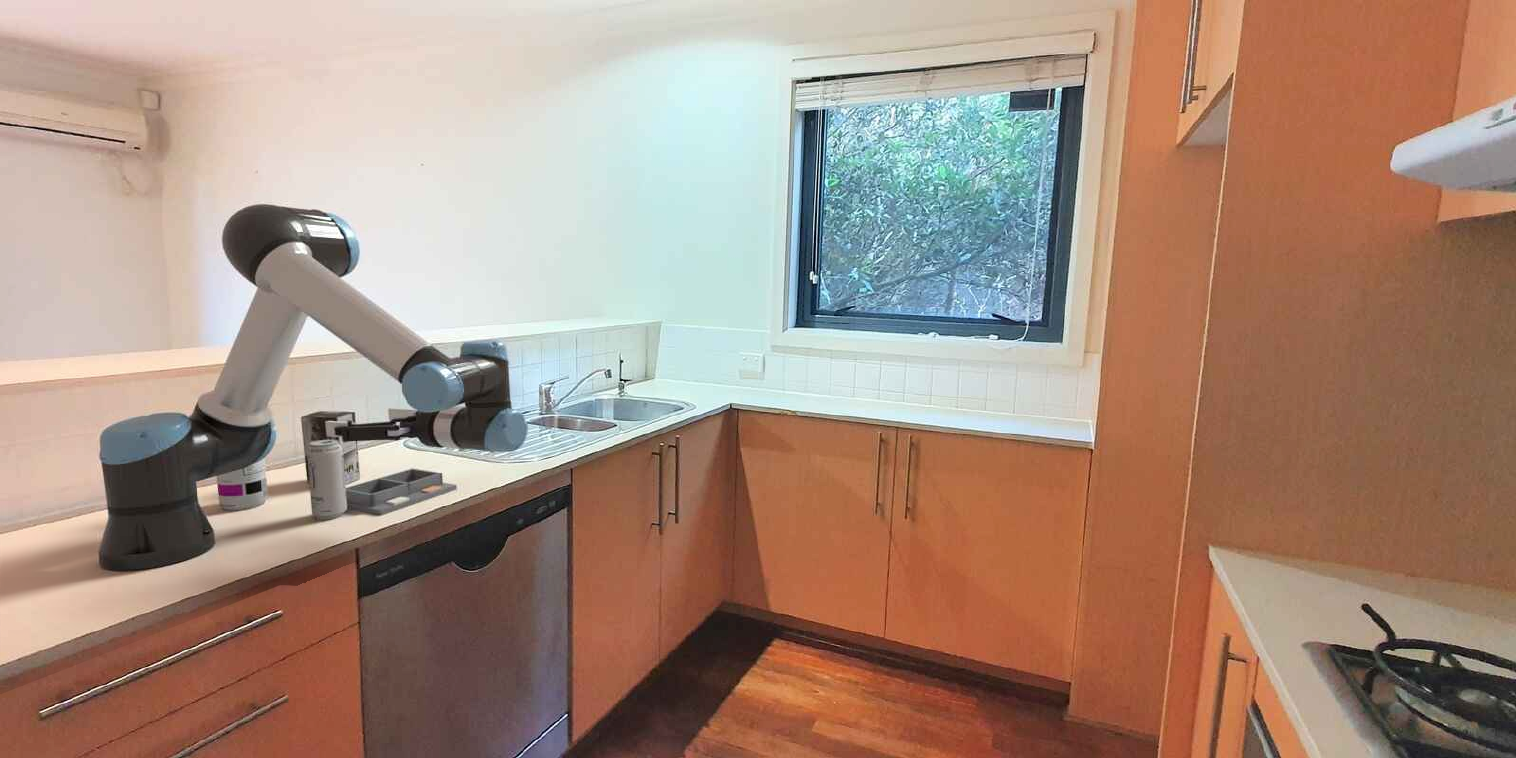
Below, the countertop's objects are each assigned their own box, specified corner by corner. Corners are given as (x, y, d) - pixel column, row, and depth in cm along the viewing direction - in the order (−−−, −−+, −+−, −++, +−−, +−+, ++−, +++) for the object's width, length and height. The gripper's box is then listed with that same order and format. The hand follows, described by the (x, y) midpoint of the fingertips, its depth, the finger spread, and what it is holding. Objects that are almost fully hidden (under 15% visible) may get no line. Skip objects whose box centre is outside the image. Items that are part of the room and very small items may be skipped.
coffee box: (361, 478, 165) (356, 411, 163) (342, 486, 159) (337, 416, 156) (325, 477, 166) (320, 410, 164) (305, 485, 160) (299, 415, 157)
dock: (381, 515, 140) (380, 498, 140) (337, 506, 145) (335, 490, 145) (456, 489, 158) (455, 474, 157) (414, 482, 163) (413, 467, 162)
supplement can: (220, 514, 140) (213, 440, 138) (218, 503, 146) (211, 433, 144) (270, 506, 145) (263, 435, 143) (266, 496, 151) (259, 428, 149)
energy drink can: (307, 515, 139) (301, 442, 137) (340, 508, 144) (335, 437, 142) (318, 522, 135) (312, 447, 133) (352, 515, 140) (346, 442, 138)
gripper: (391, 464, 115) (300, 456, 123) (496, 432, 138) (414, 427, 146) (387, 419, 114) (295, 414, 122) (493, 395, 137) (411, 391, 145)
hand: (360, 421), depth 134 cm, fingers open, 13 cm apart
